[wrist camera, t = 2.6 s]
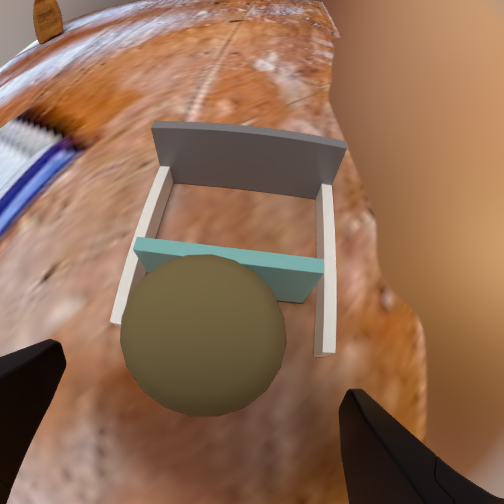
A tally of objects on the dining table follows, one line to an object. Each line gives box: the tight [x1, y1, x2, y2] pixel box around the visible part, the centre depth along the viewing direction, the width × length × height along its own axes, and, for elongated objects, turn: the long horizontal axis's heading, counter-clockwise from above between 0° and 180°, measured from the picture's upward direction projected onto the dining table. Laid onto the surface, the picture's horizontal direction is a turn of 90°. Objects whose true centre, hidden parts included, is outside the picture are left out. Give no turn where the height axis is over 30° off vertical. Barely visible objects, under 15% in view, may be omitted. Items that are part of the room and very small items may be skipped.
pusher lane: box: [110, 121, 347, 357], centre depth 18 cm, size 13×14×6 cm
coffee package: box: [33, 0, 63, 44], centre depth 43 cm, size 10×12×22 cm
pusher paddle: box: [133, 237, 324, 303], centre depth 17 cm, size 1×10×5 cm, turn 84°
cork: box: [120, 254, 286, 416], centre depth 12 cm, size 6×6×11 cm
